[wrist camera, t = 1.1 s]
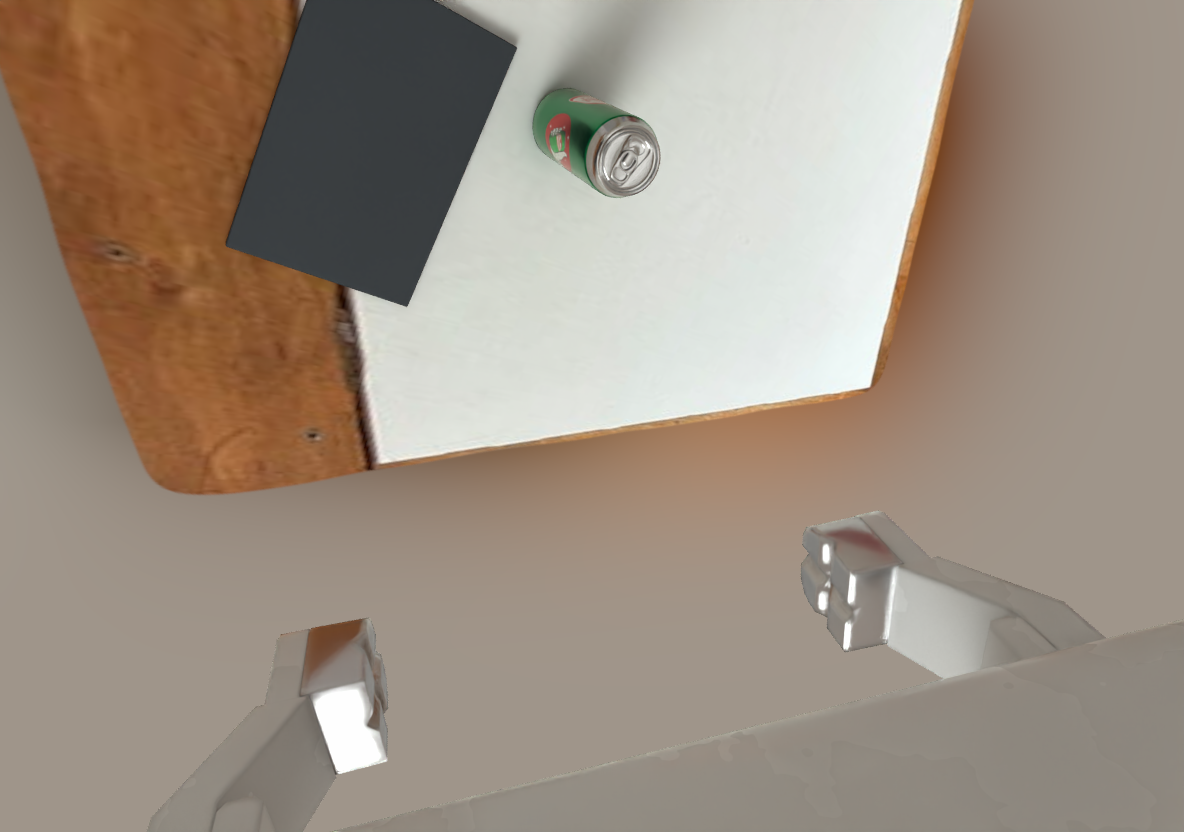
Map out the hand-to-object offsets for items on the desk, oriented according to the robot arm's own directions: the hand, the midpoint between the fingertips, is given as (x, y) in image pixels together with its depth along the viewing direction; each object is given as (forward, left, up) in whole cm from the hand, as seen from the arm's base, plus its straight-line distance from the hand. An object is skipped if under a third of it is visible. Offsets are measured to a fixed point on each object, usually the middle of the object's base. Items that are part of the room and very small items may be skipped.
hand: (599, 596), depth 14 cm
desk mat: (+1, +3, -47) cm, 47 cm away
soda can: (-6, +15, -47) cm, 50 cm away
